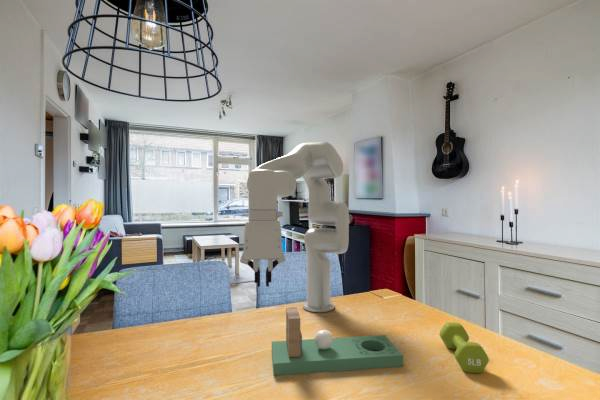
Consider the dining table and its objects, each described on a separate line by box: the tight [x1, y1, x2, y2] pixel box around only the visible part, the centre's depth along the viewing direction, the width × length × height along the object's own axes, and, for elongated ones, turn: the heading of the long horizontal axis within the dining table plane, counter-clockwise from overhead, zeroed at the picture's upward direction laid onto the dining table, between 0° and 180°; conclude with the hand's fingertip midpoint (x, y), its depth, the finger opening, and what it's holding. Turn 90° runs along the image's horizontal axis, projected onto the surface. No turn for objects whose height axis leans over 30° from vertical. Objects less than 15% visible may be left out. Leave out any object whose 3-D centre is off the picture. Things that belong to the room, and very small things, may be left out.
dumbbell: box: [439, 322, 490, 374], centre depth 88 cm, size 16×8×7 cm, turn 172°
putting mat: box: [271, 334, 404, 376], centre depth 88 cm, size 12×34×3 cm, turn 97°
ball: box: [314, 329, 334, 350], centre depth 87 cm, size 5×5×5 cm
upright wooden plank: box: [285, 306, 303, 357], centre depth 86 cm, size 8×4×10 cm, turn 7°
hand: (263, 284), depth 85 cm, fingers closed
